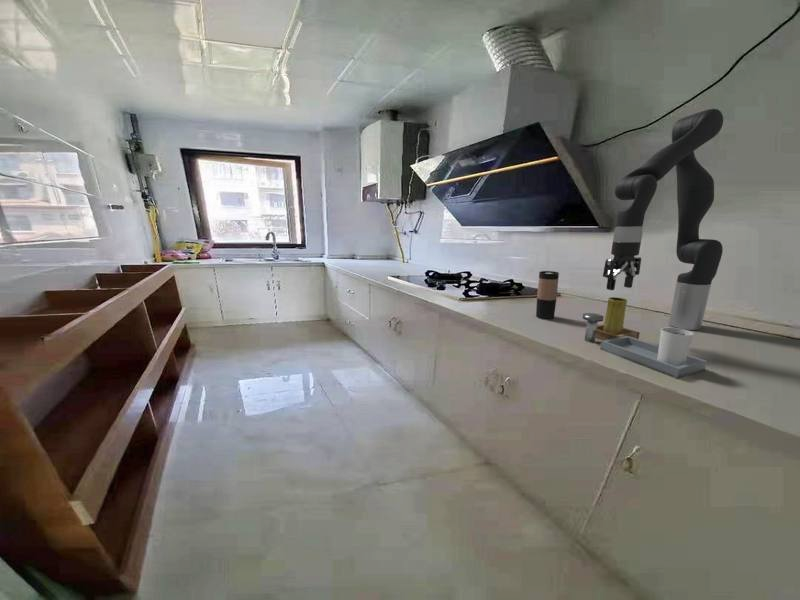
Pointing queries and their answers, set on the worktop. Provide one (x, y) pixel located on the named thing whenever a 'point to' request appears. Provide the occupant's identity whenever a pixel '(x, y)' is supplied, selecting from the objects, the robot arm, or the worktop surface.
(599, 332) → the holder
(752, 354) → the worktop surface
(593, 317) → the knob post
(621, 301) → the vase
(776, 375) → the worktop surface
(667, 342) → the white cup
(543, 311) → the travel mug
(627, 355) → the tray
